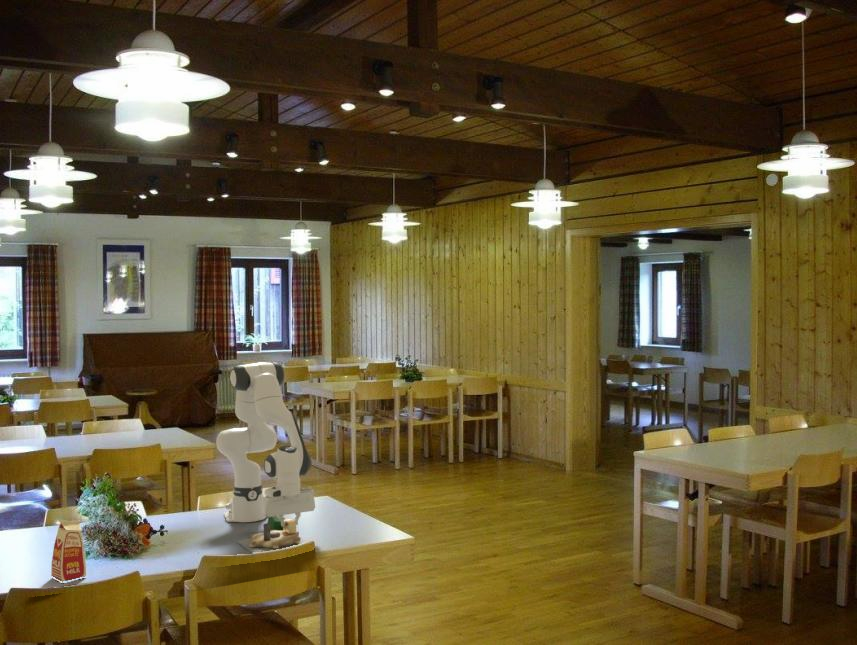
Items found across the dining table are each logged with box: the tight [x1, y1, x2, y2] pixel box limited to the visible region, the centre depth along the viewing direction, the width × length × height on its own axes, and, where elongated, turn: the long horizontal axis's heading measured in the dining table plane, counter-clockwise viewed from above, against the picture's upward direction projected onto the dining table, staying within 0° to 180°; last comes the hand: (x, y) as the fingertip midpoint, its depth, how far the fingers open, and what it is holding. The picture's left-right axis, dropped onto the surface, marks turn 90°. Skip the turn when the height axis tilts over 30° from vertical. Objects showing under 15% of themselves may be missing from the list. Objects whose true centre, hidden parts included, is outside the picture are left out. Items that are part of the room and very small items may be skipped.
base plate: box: [236, 536, 308, 553], centre depth 321 cm, size 22×22×1 cm
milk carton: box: [50, 519, 87, 582], centre depth 284 cm, size 9×9×20 cm
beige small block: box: [283, 518, 297, 534], centre depth 324 cm, size 6×3×4 cm, turn 30°
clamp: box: [266, 516, 286, 531], centre depth 341 cm, size 12×6×9 cm, turn 17°
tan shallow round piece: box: [248, 522, 301, 548], centre depth 321 cm, size 20×19×8 cm
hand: (289, 525), depth 324 cm, fingers open, 3 cm apart
